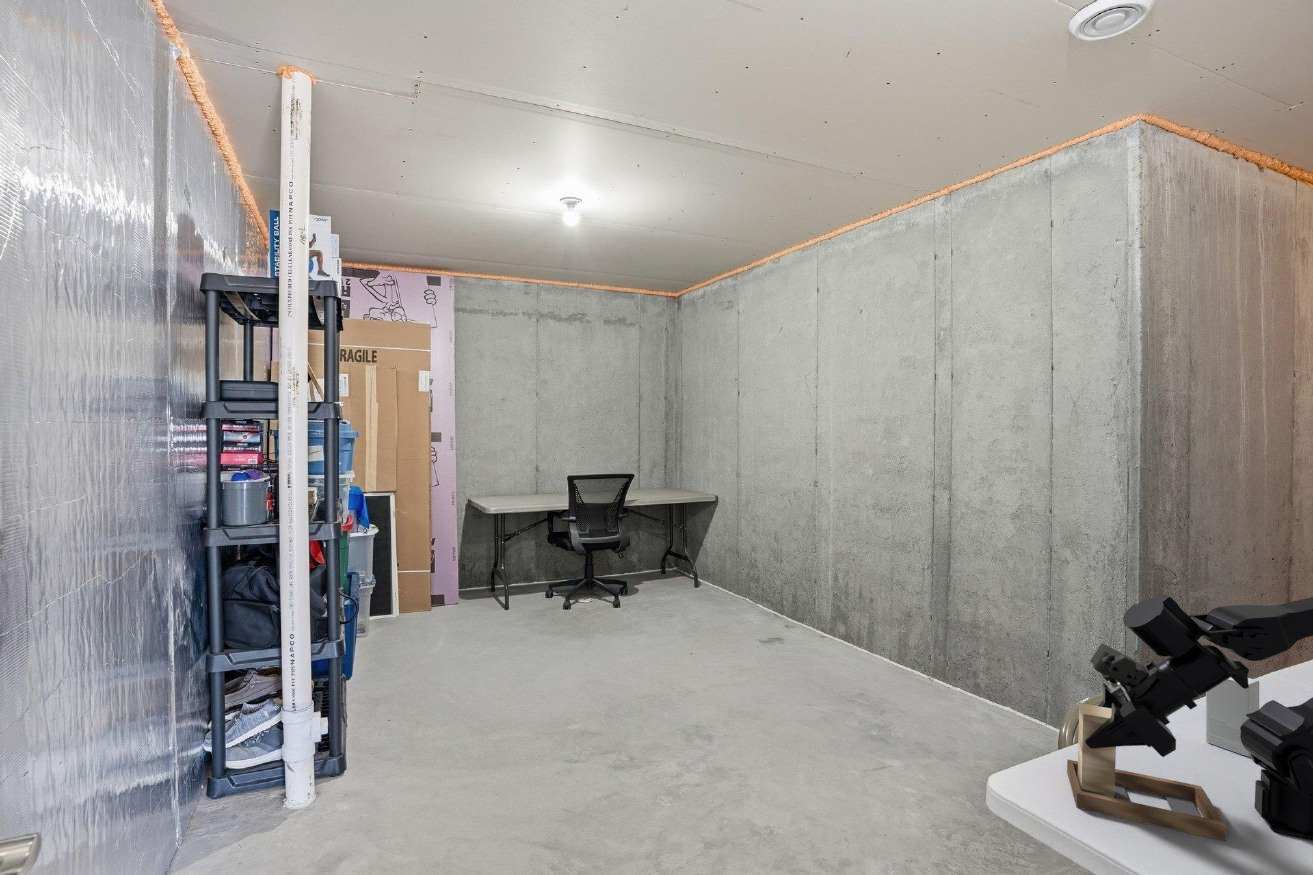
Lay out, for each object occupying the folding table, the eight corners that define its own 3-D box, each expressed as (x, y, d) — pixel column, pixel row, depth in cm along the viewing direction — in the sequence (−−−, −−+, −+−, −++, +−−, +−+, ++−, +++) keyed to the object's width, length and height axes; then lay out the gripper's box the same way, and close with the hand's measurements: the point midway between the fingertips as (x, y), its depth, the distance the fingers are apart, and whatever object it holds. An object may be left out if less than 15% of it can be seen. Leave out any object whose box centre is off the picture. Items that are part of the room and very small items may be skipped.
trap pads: (1191, 801, 94) (1191, 799, 94) (1208, 832, 87) (1208, 830, 87) (1110, 784, 99) (1110, 782, 99) (1120, 812, 92) (1120, 810, 92)
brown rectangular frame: (1200, 799, 95) (1201, 785, 95) (1225, 840, 86) (1226, 825, 85) (1067, 771, 102) (1067, 759, 102) (1076, 807, 93) (1076, 793, 93)
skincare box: (1260, 752, 109) (1262, 680, 109) (1248, 758, 107) (1251, 685, 107) (1214, 736, 114) (1217, 667, 114) (1202, 742, 112) (1205, 672, 112)
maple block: (1109, 781, 97) (1111, 708, 97) (1114, 795, 93) (1116, 719, 93) (1077, 775, 99) (1079, 703, 99) (1081, 788, 95) (1083, 713, 95)
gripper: (1119, 614, 102) (1036, 671, 107) (1147, 651, 85) (1047, 717, 91) (1181, 673, 99) (1092, 729, 104) (1223, 723, 82) (1114, 788, 87)
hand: (1085, 738), depth 97 cm, fingers closed on maple block, 4 cm apart
